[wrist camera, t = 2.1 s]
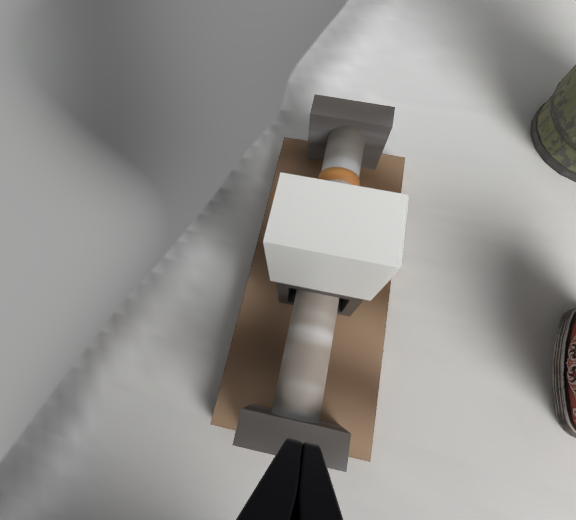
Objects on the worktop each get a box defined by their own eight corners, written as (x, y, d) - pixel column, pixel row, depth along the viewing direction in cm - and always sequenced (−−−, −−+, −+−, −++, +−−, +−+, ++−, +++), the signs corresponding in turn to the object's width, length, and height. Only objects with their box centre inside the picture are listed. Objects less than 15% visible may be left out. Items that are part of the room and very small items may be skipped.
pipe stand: (364, 456, 20) (393, 483, 15) (215, 421, 21) (188, 434, 15) (399, 169, 27) (427, 112, 21) (284, 150, 28) (283, 89, 22)
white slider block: (354, 317, 21) (401, 268, 12) (274, 301, 22) (263, 241, 13) (361, 271, 22) (408, 194, 13) (284, 256, 23) (280, 172, 14)
